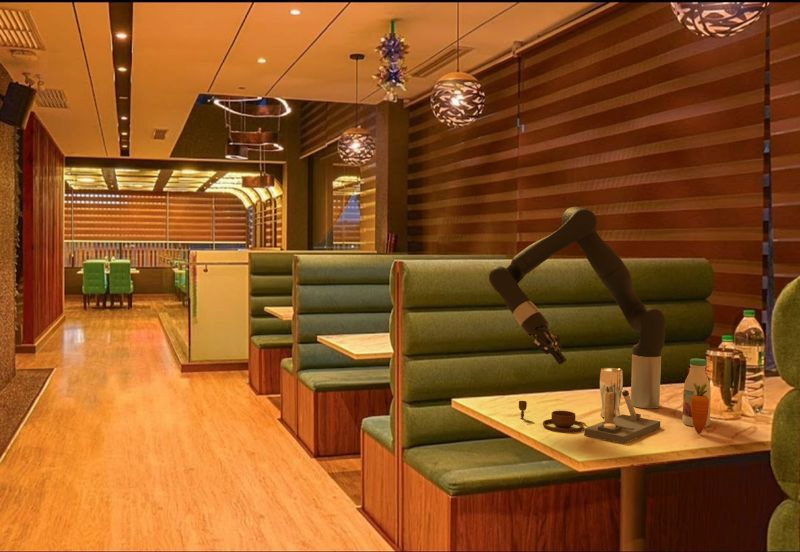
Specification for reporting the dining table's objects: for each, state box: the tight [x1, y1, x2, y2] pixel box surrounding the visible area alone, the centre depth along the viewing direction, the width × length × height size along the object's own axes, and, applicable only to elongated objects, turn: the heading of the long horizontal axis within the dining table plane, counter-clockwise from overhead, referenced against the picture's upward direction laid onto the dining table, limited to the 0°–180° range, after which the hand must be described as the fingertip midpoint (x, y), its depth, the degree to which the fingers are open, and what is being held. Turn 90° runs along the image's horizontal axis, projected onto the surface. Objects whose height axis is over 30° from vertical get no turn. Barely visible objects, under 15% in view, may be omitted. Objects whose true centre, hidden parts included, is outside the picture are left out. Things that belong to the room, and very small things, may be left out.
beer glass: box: [599, 367, 624, 419], centre depth 232 cm, size 7×7×15 cm
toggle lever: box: [621, 389, 637, 416], centre depth 222 cm, size 2×2×9 cm
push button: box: [604, 423, 616, 429], centre depth 209 cm, size 3×3×1 cm
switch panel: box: [583, 412, 661, 445], centre depth 215 cm, size 24×12×4 cm, turn 137°
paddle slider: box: [602, 392, 615, 424], centre depth 214 cm, size 3×2×9 cm
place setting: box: [518, 400, 589, 433], centre depth 223 cm, size 18×20×6 cm
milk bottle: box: [682, 357, 712, 428], centre depth 224 cm, size 8×8×20 cm
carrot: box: [691, 383, 709, 435], centre depth 213 cm, size 5×5×15 cm
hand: (563, 362), depth 224 cm, fingers closed
